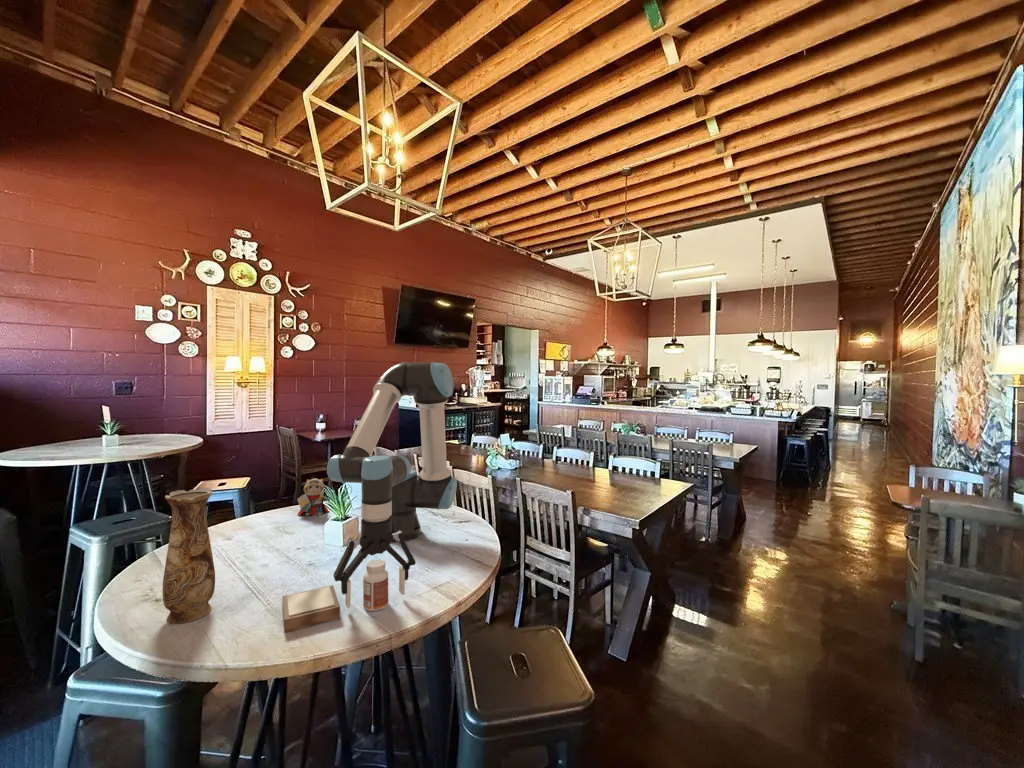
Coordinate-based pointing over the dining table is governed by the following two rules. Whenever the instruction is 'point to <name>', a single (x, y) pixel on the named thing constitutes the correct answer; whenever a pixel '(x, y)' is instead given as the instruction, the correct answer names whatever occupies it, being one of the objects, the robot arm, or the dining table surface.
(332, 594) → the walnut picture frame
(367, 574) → the pill bottle
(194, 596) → the vase
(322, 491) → the figurine
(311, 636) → the dining table surface
